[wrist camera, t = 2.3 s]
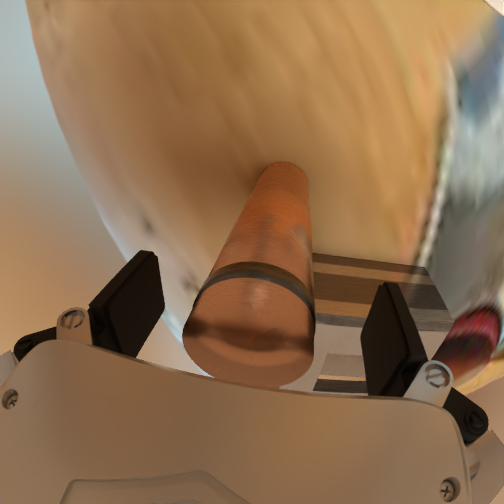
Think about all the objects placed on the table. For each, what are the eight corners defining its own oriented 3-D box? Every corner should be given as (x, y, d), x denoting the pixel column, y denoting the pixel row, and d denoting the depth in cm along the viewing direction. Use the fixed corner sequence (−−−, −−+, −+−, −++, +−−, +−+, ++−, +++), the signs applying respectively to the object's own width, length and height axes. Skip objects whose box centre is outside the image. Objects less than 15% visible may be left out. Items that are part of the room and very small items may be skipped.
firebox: (288, 250, 25) (281, 308, 19) (424, 267, 24) (454, 322, 17) (273, 350, 33) (265, 405, 26) (381, 358, 31) (389, 411, 24)
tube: (259, 158, 22) (172, 289, 7) (311, 164, 21) (330, 311, 7) (257, 205, 24) (188, 376, 9) (305, 211, 23) (301, 395, 9)
